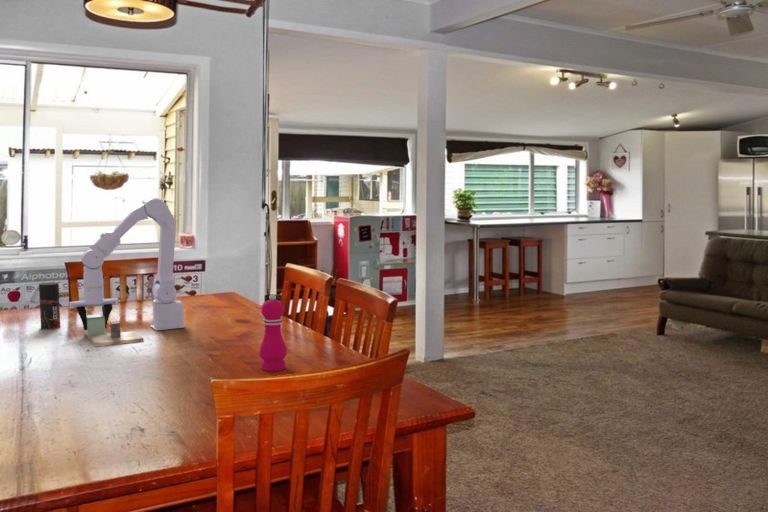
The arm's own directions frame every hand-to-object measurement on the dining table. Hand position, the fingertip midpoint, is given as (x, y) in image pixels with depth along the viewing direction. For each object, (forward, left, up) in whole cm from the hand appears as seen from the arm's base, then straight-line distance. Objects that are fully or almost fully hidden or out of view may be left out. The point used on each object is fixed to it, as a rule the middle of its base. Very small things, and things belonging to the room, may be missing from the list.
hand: (95, 328), depth 221 cm
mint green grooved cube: (0, 0, -2) cm, 2 cm away
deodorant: (+11, -19, -2) cm, 22 cm away
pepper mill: (-33, +68, -2) cm, 76 cm away
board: (-4, +12, -2) cm, 13 cm away
